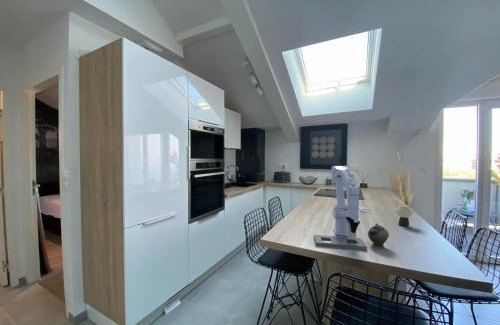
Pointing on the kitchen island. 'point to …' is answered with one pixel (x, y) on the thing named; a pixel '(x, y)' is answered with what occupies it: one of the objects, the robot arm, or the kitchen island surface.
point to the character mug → (404, 215)
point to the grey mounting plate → (339, 242)
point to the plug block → (349, 234)
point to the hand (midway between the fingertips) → (352, 231)
